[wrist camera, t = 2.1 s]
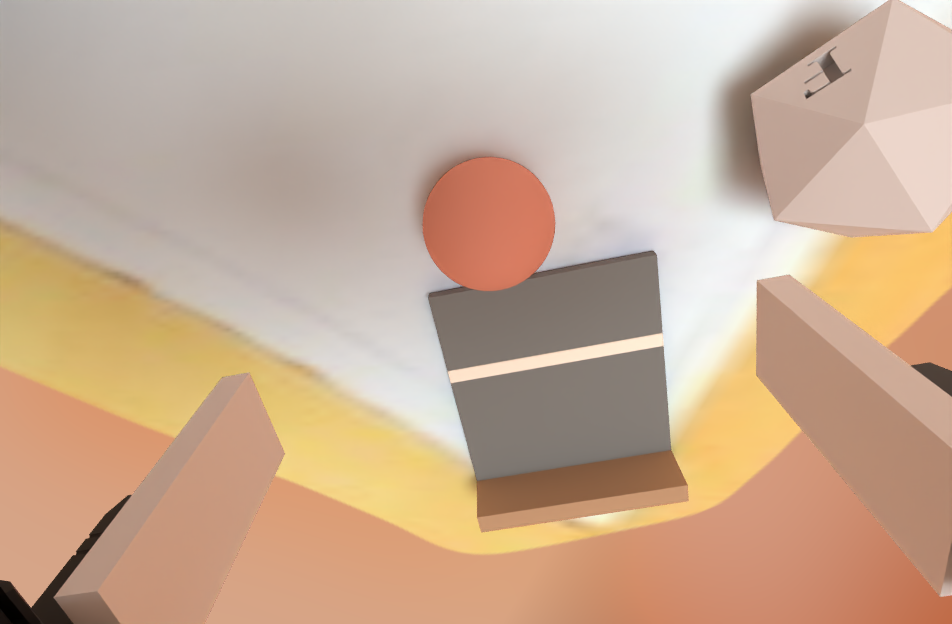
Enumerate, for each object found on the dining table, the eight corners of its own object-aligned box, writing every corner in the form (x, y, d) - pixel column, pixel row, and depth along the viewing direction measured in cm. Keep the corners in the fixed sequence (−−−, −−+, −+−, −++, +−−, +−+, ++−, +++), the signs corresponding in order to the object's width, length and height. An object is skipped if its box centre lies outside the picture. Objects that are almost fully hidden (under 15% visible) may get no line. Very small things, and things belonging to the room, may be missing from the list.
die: (924, -7, 25) (937, -90, 17) (1040, 166, 24) (1111, 163, 16) (740, 115, 30) (685, 95, 22) (829, 263, 29) (804, 296, 21)
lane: (429, 293, 31) (423, 323, 27) (653, 250, 30) (675, 277, 26) (480, 488, 37) (481, 532, 33) (669, 458, 36) (688, 501, 32)
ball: (414, 160, 28) (399, 190, 22) (537, 134, 27) (552, 158, 22) (442, 273, 30) (435, 324, 25) (555, 251, 30) (572, 299, 24)
